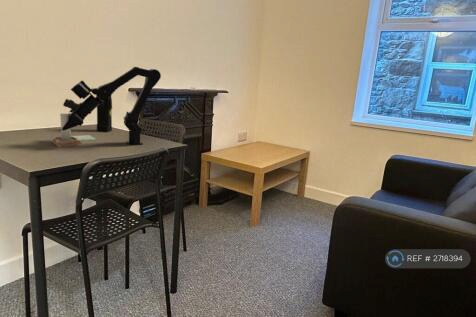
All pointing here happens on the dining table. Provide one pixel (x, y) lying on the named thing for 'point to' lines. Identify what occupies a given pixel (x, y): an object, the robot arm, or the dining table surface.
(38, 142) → the dining table surface
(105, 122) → the portable radio
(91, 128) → the dining table surface
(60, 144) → the brown wooden square tray
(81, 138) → the pad
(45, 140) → the dining table surface
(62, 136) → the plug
